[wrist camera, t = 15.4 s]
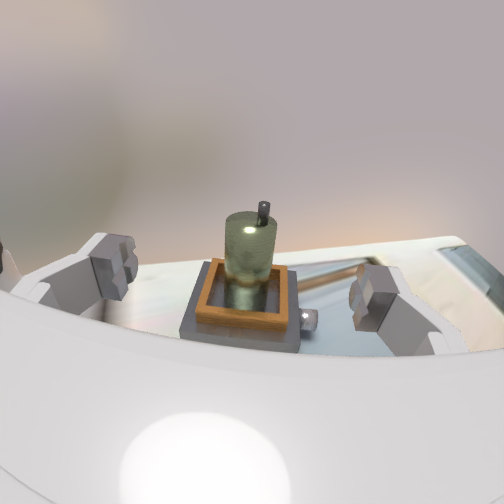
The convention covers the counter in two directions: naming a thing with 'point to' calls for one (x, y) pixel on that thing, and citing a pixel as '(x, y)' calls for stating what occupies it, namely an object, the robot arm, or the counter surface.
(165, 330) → the counter surface
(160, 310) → the counter surface
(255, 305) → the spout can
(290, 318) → the grey drawer box
